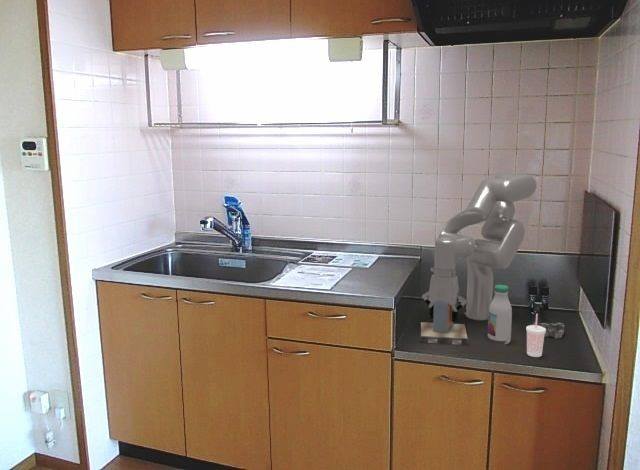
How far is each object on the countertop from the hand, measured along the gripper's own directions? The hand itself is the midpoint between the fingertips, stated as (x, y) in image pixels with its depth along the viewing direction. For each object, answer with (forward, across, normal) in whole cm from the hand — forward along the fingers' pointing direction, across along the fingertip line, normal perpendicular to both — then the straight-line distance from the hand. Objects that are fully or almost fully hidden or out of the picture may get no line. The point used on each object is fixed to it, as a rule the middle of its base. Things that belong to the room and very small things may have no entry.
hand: (443, 318), depth 203 cm
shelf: (+5, +1, -4) cm, 7 cm away
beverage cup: (+6, +32, -4) cm, 33 cm away
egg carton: (+6, +33, +17) cm, 38 cm away
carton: (+4, 0, 0) cm, 4 cm away
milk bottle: (+6, +20, +2) cm, 20 cm away
